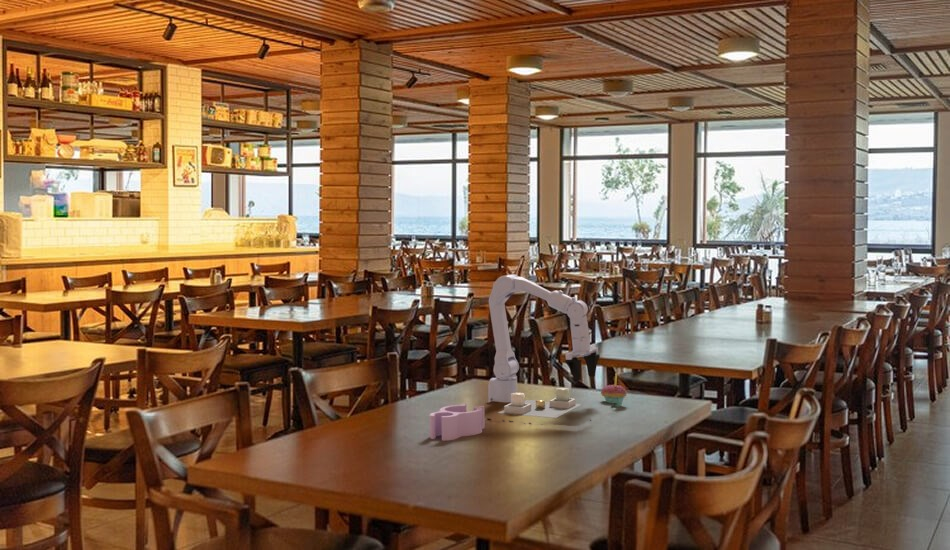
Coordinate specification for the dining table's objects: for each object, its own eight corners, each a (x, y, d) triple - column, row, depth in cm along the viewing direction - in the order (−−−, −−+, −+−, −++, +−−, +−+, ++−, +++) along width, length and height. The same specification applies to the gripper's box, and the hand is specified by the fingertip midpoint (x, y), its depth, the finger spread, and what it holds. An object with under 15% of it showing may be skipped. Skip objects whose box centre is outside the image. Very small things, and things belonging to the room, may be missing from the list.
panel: (497, 417, 315) (497, 406, 315) (526, 404, 337) (526, 394, 337) (556, 422, 306) (556, 411, 306) (582, 408, 328) (582, 398, 328)
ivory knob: (508, 405, 316) (508, 394, 316) (514, 403, 320) (514, 392, 320) (521, 406, 314) (521, 395, 314) (526, 404, 318) (526, 393, 318)
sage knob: (553, 400, 324) (553, 389, 324) (558, 398, 328) (558, 387, 328) (566, 401, 323) (566, 390, 322) (571, 399, 327) (571, 388, 326)
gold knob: (534, 409, 321) (534, 401, 321) (537, 407, 324) (537, 399, 323) (543, 409, 320) (543, 402, 319) (546, 408, 322) (546, 400, 322)
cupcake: (631, 407, 330) (631, 371, 330) (608, 409, 327) (608, 373, 326) (618, 402, 338) (618, 367, 338) (596, 404, 335) (596, 369, 334)
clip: (455, 442, 282) (455, 418, 281) (419, 437, 288) (419, 414, 288) (491, 429, 298) (491, 406, 298) (457, 425, 305) (457, 403, 305)
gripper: (575, 340, 318) (579, 382, 319) (603, 334, 329) (607, 374, 329) (558, 340, 324) (563, 381, 324) (587, 334, 334) (591, 374, 334)
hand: (584, 378), depth 327 cm, fingers open, 7 cm apart
